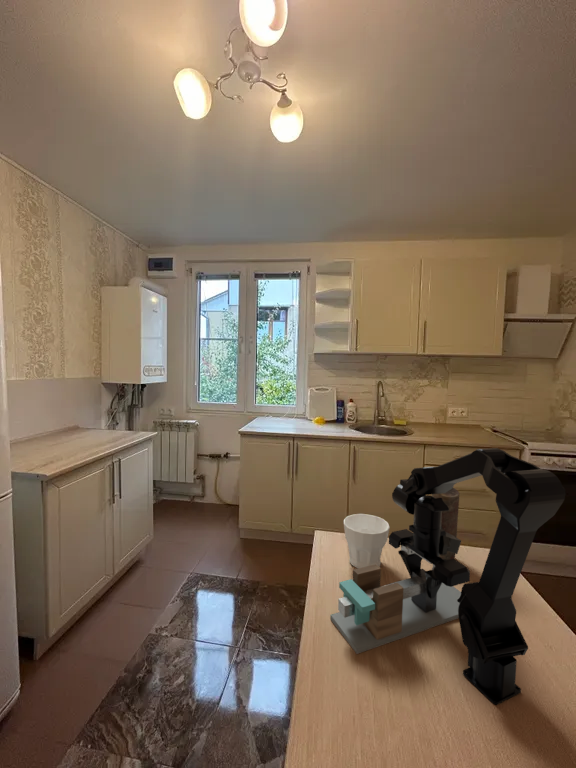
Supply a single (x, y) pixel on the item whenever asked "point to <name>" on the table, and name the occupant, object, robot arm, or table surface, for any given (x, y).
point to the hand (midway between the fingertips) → (424, 591)
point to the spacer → (358, 600)
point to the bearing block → (381, 602)
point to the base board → (411, 620)
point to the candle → (449, 516)
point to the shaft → (411, 588)
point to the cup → (365, 538)
